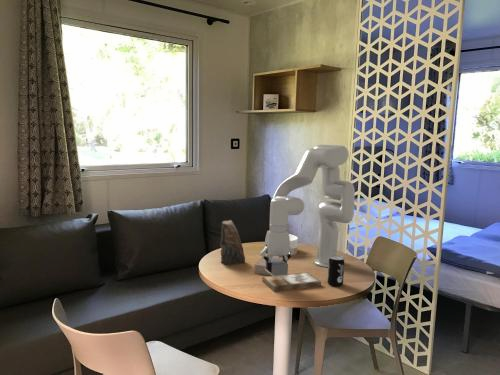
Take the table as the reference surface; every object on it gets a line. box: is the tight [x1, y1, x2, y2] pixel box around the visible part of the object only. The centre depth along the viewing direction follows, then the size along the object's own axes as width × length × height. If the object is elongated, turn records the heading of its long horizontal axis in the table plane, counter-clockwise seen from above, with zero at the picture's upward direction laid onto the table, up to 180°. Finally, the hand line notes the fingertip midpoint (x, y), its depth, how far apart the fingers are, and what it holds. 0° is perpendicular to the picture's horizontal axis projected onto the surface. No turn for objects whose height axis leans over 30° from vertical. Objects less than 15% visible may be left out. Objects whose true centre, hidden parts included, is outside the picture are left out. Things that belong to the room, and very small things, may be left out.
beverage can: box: [327, 255, 345, 288], centre depth 168 cm, size 7×7×12 cm
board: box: [261, 271, 322, 293], centre depth 168 cm, size 22×12×2 cm, turn 111°
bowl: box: [289, 233, 299, 257], centre depth 215 cm, size 17×17×8 cm
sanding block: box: [265, 258, 289, 277], centre depth 164 cm, size 6×9×5 cm, turn 21°
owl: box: [219, 219, 246, 266], centre depth 195 cm, size 13×13×20 cm
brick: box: [253, 254, 281, 276], centre depth 186 cm, size 17×8×5 cm, turn 162°
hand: (276, 270), depth 164 cm, fingers closed on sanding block, 6 cm apart
